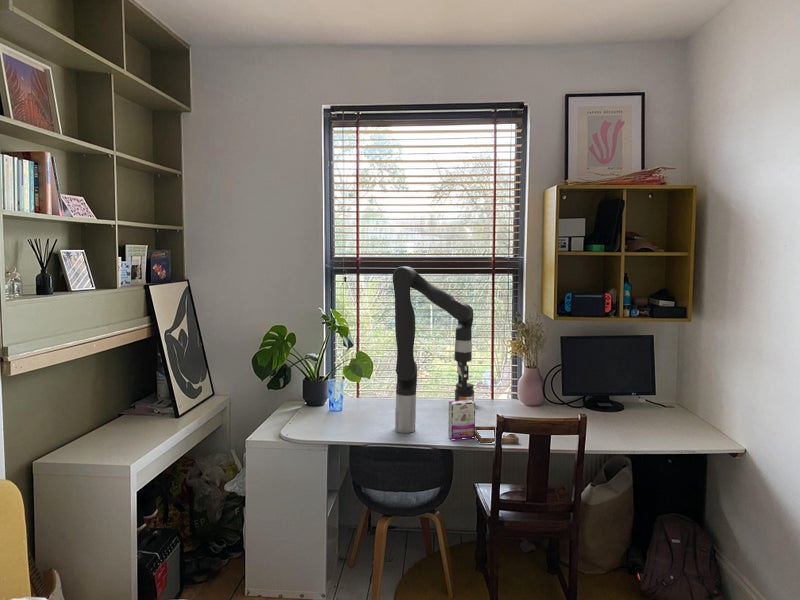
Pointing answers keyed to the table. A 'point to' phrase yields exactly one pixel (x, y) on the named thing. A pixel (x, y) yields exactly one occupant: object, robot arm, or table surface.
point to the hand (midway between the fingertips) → (462, 386)
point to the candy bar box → (461, 419)
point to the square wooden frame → (505, 440)
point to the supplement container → (464, 392)
